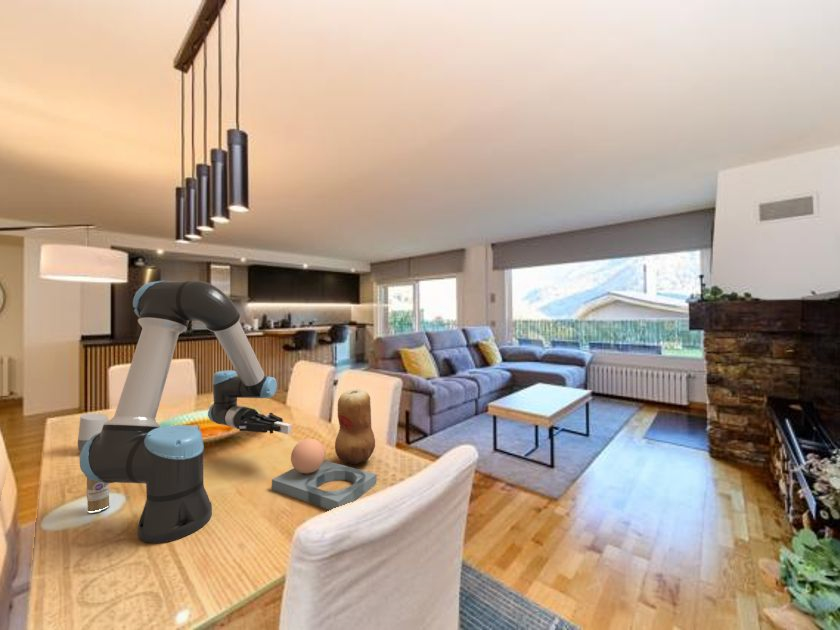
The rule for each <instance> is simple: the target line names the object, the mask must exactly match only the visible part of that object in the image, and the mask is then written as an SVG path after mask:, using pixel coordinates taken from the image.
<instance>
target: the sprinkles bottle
mask: <svg viewBox="0 0 840 630" xmlns="http://www.w3.org/2000/svg"><path fill="white" fill-rule="evenodd" d="M86 500H87V502H86V503H87V510H88V511H95V510H99V509H103V508H105V507H107V506H109V504H110V483H104V482H99V481H93V480H90V479H88V478H87V477H86ZM109 507H110V506H109Z"/></svg>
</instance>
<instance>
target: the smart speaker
mask: <svg viewBox="0 0 840 630" xmlns="http://www.w3.org/2000/svg"><path fill="white" fill-rule="evenodd" d="M79 419H80V420H79V428H78V437H77V447H78V448H77V449H78V451H79V452H80V453H81V451H82V449H83V447H84V445H85V444H86V442H87V441H89V440H91V437H93V436H94V435H96V434H98V433H100V432H101V431H102V428H103V425H104V423H106V422H107V421H109V418H108V416H107V415H106V414H104V413H102V414H101V413H84V414H81V415H80V418H79Z"/></svg>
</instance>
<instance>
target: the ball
mask: <svg viewBox="0 0 840 630" xmlns="http://www.w3.org/2000/svg"><path fill="white" fill-rule="evenodd" d="M325 458H326V450H325V447H324V445H323V444H322V443H321V442H320V441H319V440H317V439H314V438H305V439H303V440H300V441H299V442H298V443H296V444H295V446H294V447H293V449H292V451H291V454H290V462H291V466H292V467H293V468H295V469H296V470H297V471H298V472H300V473H304V474H308V473H312V472H314V471H316V470H317V469H319V468H320V466H321V465H322V464H323V462H324V460H325Z"/></svg>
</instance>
